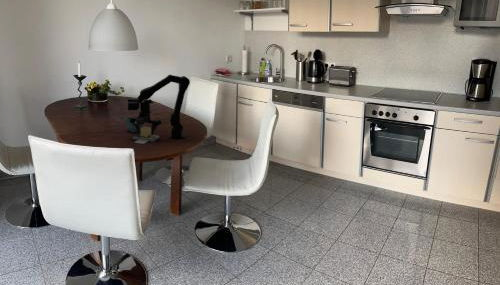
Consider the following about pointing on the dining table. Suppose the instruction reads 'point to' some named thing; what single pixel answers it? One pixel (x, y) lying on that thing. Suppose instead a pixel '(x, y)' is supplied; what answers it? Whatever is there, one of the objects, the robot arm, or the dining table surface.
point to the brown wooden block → (146, 132)
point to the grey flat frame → (152, 138)
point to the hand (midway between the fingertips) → (145, 134)
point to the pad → (141, 141)
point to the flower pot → (131, 125)
